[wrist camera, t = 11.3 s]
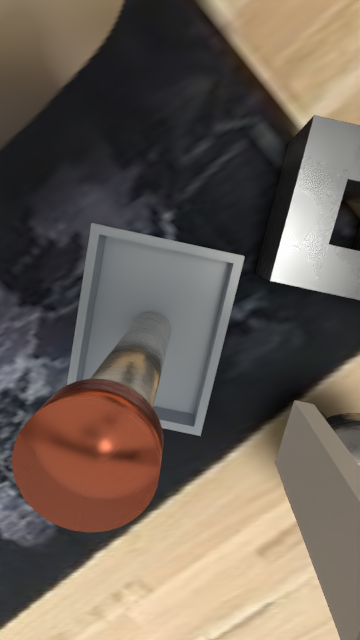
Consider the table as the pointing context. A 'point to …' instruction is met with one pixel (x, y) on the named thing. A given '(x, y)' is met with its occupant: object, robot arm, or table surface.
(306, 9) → the table surface
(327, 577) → the robot arm
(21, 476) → the pin
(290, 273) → the block
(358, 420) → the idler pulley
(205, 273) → the tray
